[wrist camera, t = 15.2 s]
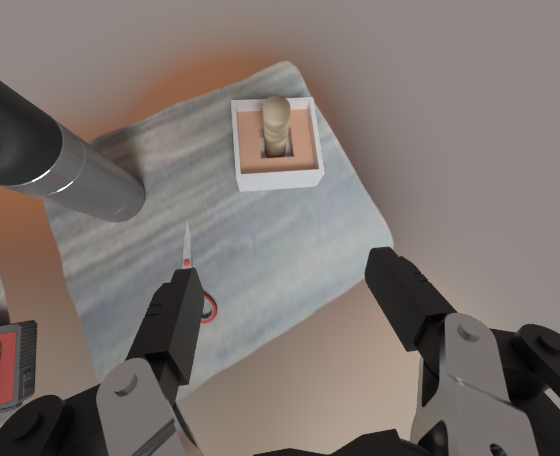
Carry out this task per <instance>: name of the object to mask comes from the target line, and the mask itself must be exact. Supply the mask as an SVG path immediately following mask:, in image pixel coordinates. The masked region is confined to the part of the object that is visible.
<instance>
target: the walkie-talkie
mask: <svg viewBox="0 0 560 456" xmlns="http://www.w3.org/2000/svg"><path fill="white" fill-rule="evenodd" d="M36 343H37V323H36V322H35V321H34V320H32V321H25V322H19V323H12V324H6V325H0V412H1V413H5V412H8V411H11V410H14V409H16V408H18V407H20V406H21V405H22V401H24V400H26V399H28V398H29V397H31V396H32V395H33V394H34V393H35V372H36V345H37V344H36Z"/></svg>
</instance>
